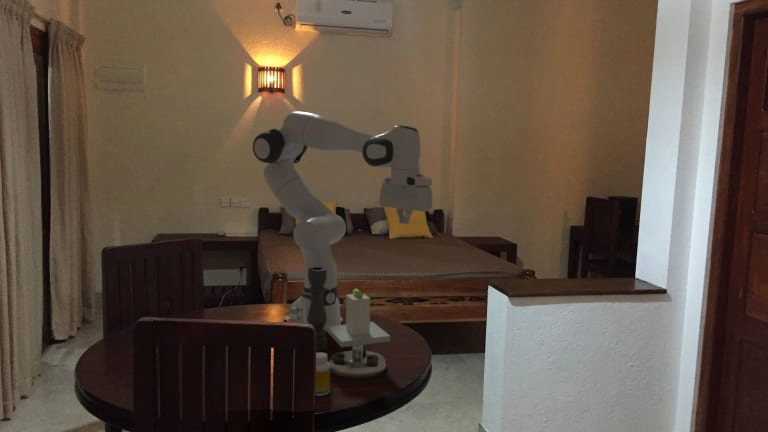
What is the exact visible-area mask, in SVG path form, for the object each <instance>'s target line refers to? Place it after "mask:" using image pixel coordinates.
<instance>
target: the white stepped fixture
mask: <svg viewBox="0 0 768 432" xmlns="http://www.w3.org/2000/svg"><path fill="white" fill-rule="evenodd" d="M345 298H346V299H345V324H341V325H336V326H327V331H326V333H328V334H329V336H330V337H331V338H332V339H333V340H334V341H335V342H336V343H337V344H338V345H339V347H340V348H344V347H345V348H346V347H352V346H355V345H363V344H366V345H370V344H377V343H378V344H379V343H386V342H391V335H389V334H388V333H387V332H386V331H385V330H383V329H382V328H381V327H380V326H379V325H377V324H376V323H375V322H373V321H371V317H370V316H371V298H370V297H369V296H368V295H366V294H365V293H364V292H363V291H361V290H360V289H359V288H354V289H353V290H352V293H351V294H345Z"/></svg>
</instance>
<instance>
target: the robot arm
mask: <svg viewBox="0 0 768 432" xmlns="http://www.w3.org/2000/svg"><path fill="white" fill-rule="evenodd" d="M308 148H311V149H314V150H320V151H355V152H358V153H362V157H363V159H364V161H365V163H366V164H367V165H369V166H371V167H373V168H374V167H375V168H390V177H385V178H384V179H383V180H382V182H381V187H380V193H379V205H380V206H381V207H383V208H392V209H395V210H396V212H395V213H396V215H397V216H398V223H399V224H403V225H409V224H410V220H411V219H410V218H411V217H412V214H413V213H414V212H413V211H415V212H430V210H432V208H433V191H432V188H431V186H432V184H433V179H432V178H430V177H429V176H426V175H425V174H423V173H422V172H421V167H420V163H419V162H420V157H421V137H420V131H419V130H418V129H417V128H415V127H412V126H410V125H409V126H408V125H403V124H402V125H401V124H397V125H394V126H393V127H392V128H391V129H389V130H388V131H386V132H384V133H381V134H378V135H370V134H367V133H363V132H360V131H356V130H354V129H352V128H350V127H347V126H345V125H344V124H341V123H338V122H336V121H334V120H332V119H331V118H327V117H326V116H323V115H320V114H316V113H312V112H309V111H292V112H290V113H288V114H287V115H286V116H285V118H284V120H283V124H282V126H281V127H280V128H277V129H276V127H275V128H271V129H269V130H266V131H264V132H261V133H260V134H258V135H257V136H256V137H254V140H253V142H252V151H253V154H254V156H255V158H256V159H257V160H258V161H259V162H262V163H264V164H266V166H264V169H263V177H264V179H265V181H266V183H267V185H268V187H269V189H270V190H271V192H272V194H273V195H274V196H275V198H276V199H277V201H278V202H279V203H280V204H281V206H282V207H283V208H284V210H285V211H286V213H287V214H289V215H290V217H293V218H294V219H296V220H297V221H299V223H297V224H296V226H295V227H294V229H293V233H292V234H293V235H292V236H293V239H294V243H296V245H297V246H298V247H299V248H300V252H301V255H302V258H303V264H304V266H303V267H304V285H303V286H302V285H301V286H300V288H301V289H300V290H302V291H301V296H299V298H297V299H296V300H295V301H294V302H293V303H291V305H290V312H289V313H290V314H288V315H286V316H284V317H283V320H284V319H286V320H288V319H290V318H291V319H294V320H296V321H298V322H300V323H308V321H307V317H308V313H309V308H310V304H311V293H310V291H309V288H310V287H311V285H310V283H309V280H308V269H309V268H313V267H323V268H326V269H327V279H326V282H325V284H324V287H325V288H326V290H325V291H324V306H325V311H326V315H327V321H326V323H325V325H324V328H323V329H324V330H325V332H327V326H336V325H342V324H341V323H343V317H341V305H340V304H341V303H340V299H339V298H338V296H339V288H338V285H337V283H338V282H337V275H338V274H337V269H338V267H337V266H338V265H337V262H336V261H335V259H334V258H333V255H332V249H331V245H334V244H336V243H338V242H339V241H341V239H342V238H343V237H344V236H345V234H346V232H347V225H346V222H345V220H344V218H342V217H341V216H340V215H338V214H336V213H335V212H333V211H332V210H331V209H330V208H329V207H328V206H327V205H326V204H325V203H323V202H322V201H321V200H320V199H319V198H318V197H317V196H316V195H315V194H314V193H313V192H312V190H311V189H310V187H309V186H308V185H307V183H306V182H305V181H304V180H303V179H302V176H301V175H300V174H299V173H298V172H297V170H296V168H295V164H298V163H300V161H301V159H302V157H303V156H304V155H305V153H306V152H307V149H308ZM289 316H290V317H289Z"/></svg>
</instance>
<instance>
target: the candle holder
mask: <svg viewBox="0 0 768 432" xmlns="http://www.w3.org/2000/svg"><path fill="white" fill-rule="evenodd" d="M326 279H327V269H326V268H323V267H313V268H309V269H308V280H309V283H310V285H311V287H310V288H309V291H310V293H311V304H310V308H309V313H308V317H307V321H308V324H312V325H313V326H314V328H315V332H316V352H315V353H318V352H324V351H326V350H327V349H328V337H327V331H325V330H324V329H323V328H324V325H325V323H326V321H327V315H326V311H325V306H324V291H325V290H326V288H325V287H324V284H325V282H326Z"/></svg>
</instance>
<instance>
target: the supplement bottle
mask: <svg viewBox="0 0 768 432" xmlns="http://www.w3.org/2000/svg"><path fill="white" fill-rule="evenodd" d="M315 353H316V374H315V376H316V396H315V397H321V396H322V397H323V396H327V395H328V394H329V393H330V391H331V371H330V364H329V361H328V353H325V352H323V351H318V352H315Z"/></svg>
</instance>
